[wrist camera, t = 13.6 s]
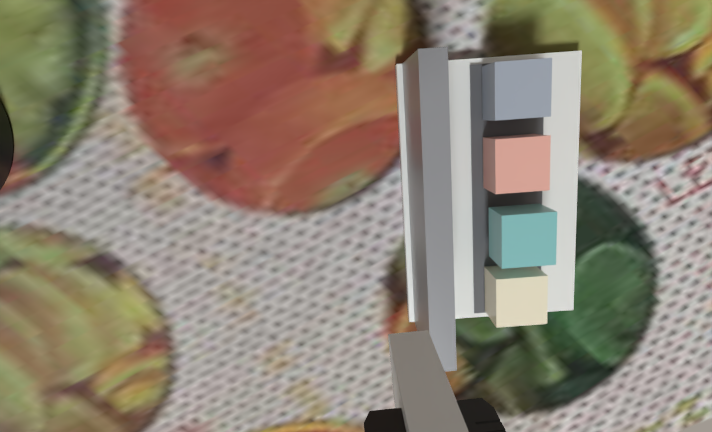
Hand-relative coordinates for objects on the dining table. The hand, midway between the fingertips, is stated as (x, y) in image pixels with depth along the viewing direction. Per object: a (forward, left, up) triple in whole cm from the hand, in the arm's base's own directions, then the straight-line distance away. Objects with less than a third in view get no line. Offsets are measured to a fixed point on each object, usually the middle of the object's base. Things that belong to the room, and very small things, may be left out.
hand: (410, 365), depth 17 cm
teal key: (+12, -2, -24) cm, 27 cm away
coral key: (+12, +4, -25) cm, 28 cm away
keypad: (+11, +1, -27) cm, 29 cm away
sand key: (+12, -8, -25) cm, 29 cm away
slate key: (+12, +10, -25) cm, 30 cm away
